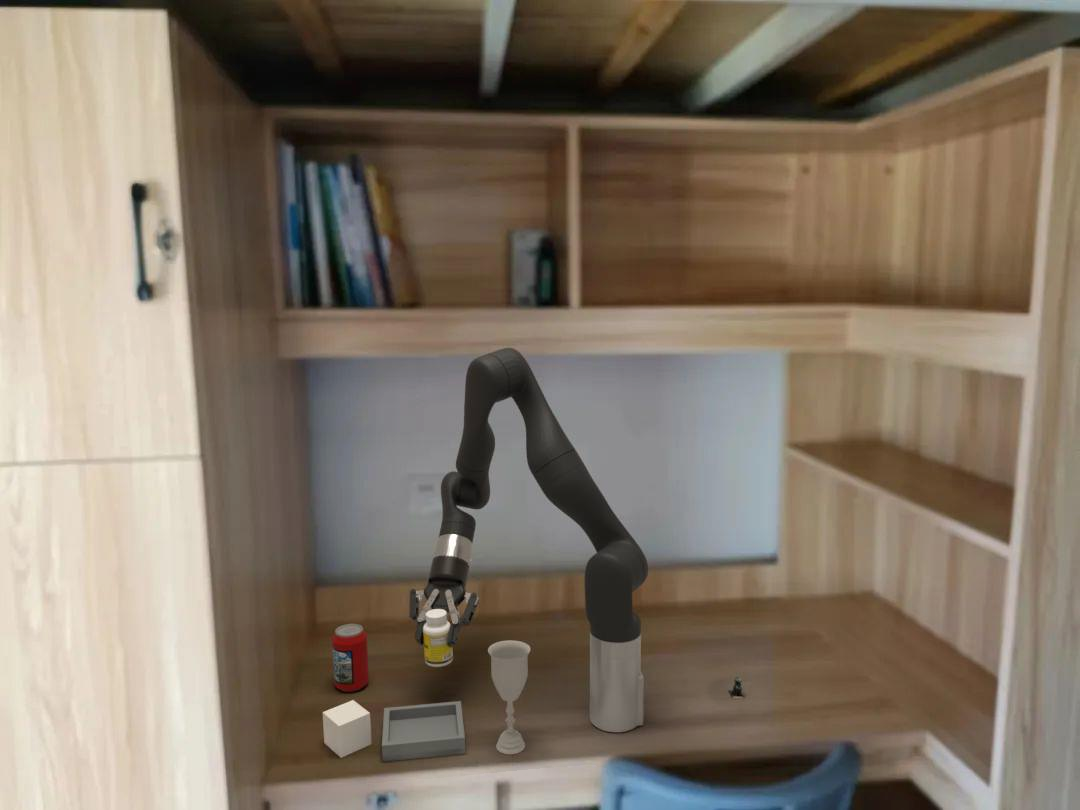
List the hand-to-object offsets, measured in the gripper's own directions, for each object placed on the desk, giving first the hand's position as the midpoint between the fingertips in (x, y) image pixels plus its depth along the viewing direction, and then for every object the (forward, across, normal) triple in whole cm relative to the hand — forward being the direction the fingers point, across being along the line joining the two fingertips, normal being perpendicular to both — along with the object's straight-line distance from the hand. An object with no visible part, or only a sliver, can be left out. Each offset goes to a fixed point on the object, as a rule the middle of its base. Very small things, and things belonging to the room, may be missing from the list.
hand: (434, 644), depth 150 cm
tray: (+16, +1, +1) cm, 16 cm away
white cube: (+19, -12, -2) cm, 23 cm away
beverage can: (+6, -20, +12) cm, 23 cm away
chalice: (+16, +17, +2) cm, 23 cm away
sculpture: (-1, +56, +20) cm, 60 cm away
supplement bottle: (+2, 0, +4) cm, 5 cm away
